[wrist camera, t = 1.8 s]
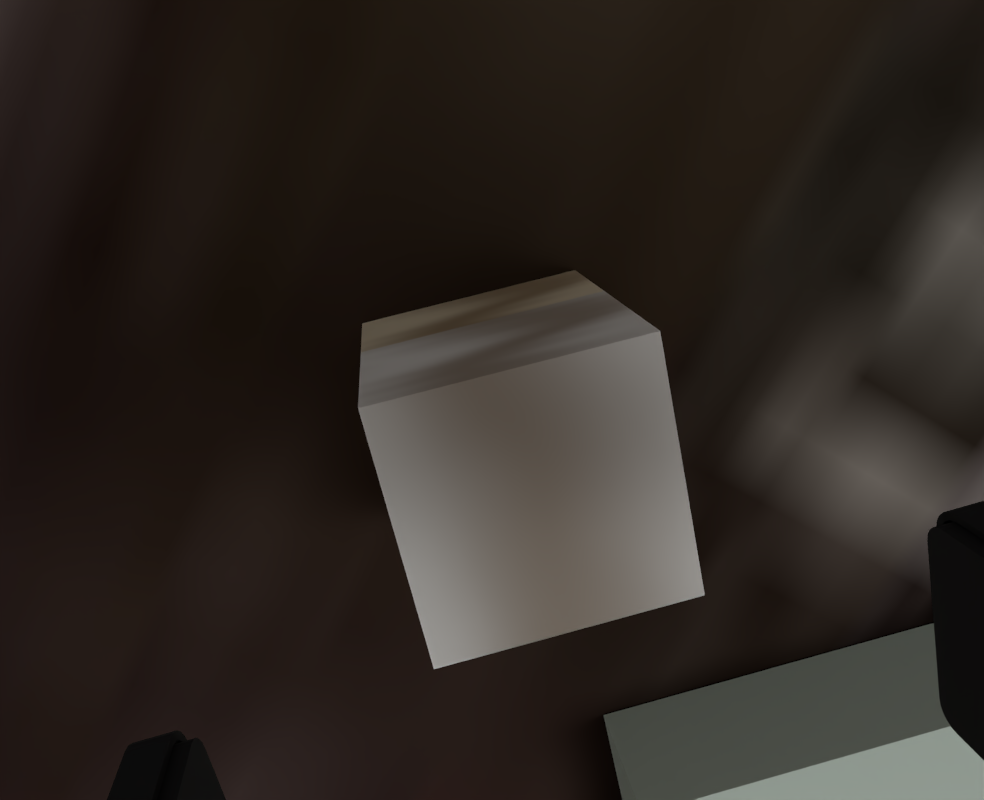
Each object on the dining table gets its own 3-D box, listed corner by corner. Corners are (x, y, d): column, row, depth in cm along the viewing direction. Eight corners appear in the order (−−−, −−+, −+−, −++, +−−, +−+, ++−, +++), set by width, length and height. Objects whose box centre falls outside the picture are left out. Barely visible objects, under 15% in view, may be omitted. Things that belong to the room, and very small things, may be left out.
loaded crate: (574, 269, 22) (659, 331, 16) (612, 465, 24) (704, 595, 17) (362, 322, 22) (358, 408, 15) (416, 517, 24) (433, 669, 17)
